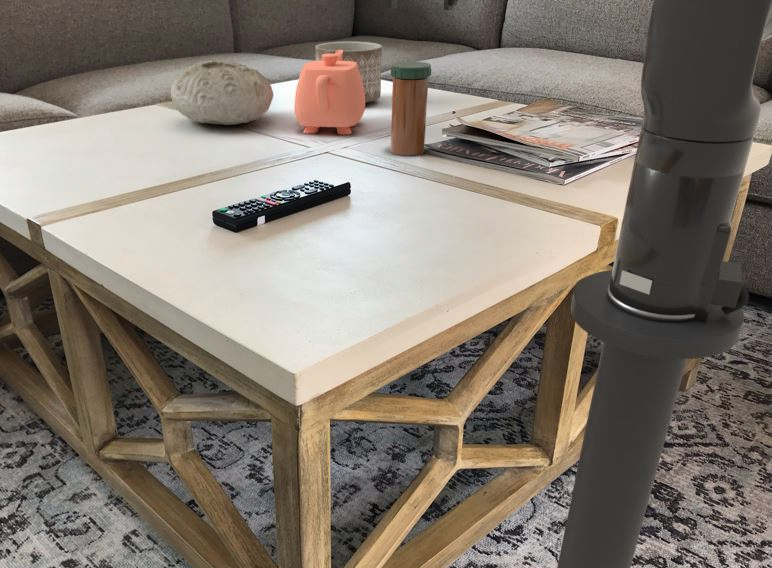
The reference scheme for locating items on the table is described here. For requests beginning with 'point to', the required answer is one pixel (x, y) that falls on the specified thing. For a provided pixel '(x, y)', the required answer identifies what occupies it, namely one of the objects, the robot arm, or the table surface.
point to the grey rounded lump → (221, 93)
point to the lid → (411, 70)
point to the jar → (408, 116)
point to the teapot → (329, 94)
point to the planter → (359, 63)
